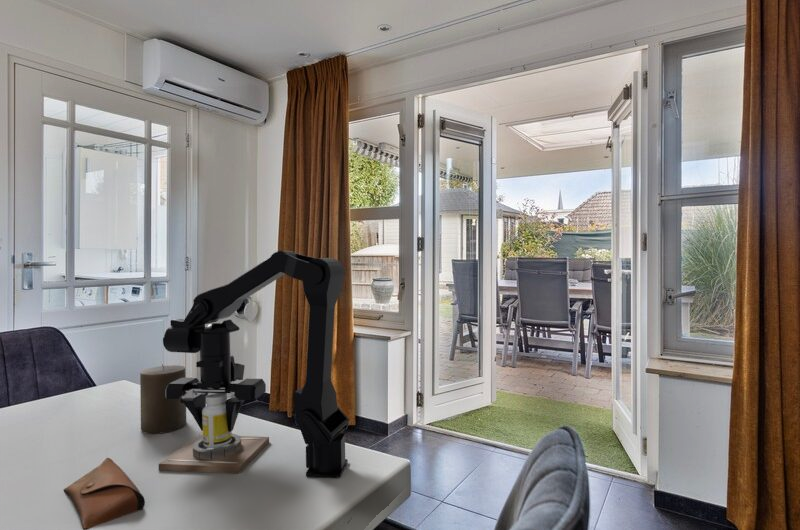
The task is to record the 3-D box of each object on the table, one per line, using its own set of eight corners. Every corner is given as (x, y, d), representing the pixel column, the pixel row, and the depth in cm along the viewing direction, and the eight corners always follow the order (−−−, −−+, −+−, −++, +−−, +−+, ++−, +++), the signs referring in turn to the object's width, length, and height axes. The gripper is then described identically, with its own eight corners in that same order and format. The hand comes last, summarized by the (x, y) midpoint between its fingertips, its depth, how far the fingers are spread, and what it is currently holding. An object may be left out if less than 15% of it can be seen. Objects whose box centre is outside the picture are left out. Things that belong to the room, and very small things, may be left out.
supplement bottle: (236, 438, 94) (235, 391, 94) (223, 449, 89) (222, 399, 89) (211, 437, 95) (210, 390, 95) (197, 448, 90) (196, 399, 89)
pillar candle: (173, 434, 104) (172, 368, 103) (131, 434, 104) (130, 368, 104) (194, 419, 113) (193, 359, 113) (155, 419, 113) (154, 359, 113)
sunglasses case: (58, 489, 79) (81, 450, 82) (99, 495, 84) (120, 458, 86) (83, 531, 67) (108, 484, 69) (130, 536, 71) (152, 492, 74)
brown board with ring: (269, 442, 98) (268, 430, 98) (238, 473, 84) (238, 459, 84) (199, 439, 100) (199, 427, 100) (158, 469, 86) (158, 455, 86)
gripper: (275, 346, 99) (277, 417, 99) (194, 345, 101) (196, 415, 101) (252, 357, 88) (254, 438, 88) (162, 357, 90) (164, 435, 90)
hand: (217, 430), depth 92 cm, fingers closed on supplement bottle, 5 cm apart
